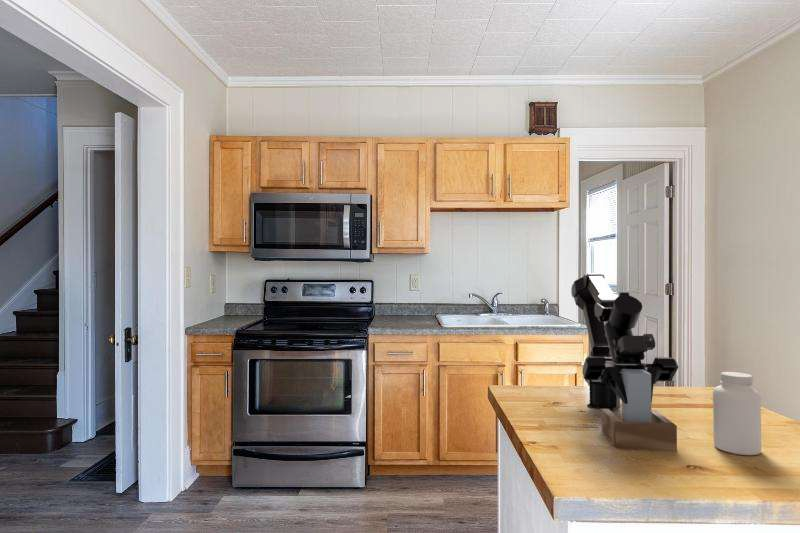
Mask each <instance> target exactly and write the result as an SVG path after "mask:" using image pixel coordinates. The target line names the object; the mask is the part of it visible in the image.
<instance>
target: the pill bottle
mask: <svg viewBox="0 0 800 533" xmlns="http://www.w3.org/2000/svg"><path fill="white" fill-rule="evenodd" d="M753 378H754V377H753V375H751V374H750V373H749V374H748V373H745V372H744V373H743V372H737V371H723V372H721V373H720V381H719V382H720V385H717V386H715V387H714V389H713V390H712V423H713V426H712V427H713V428H712V430H713V434H712V435H713V445H714V446H715V447H716V448H717V449H719V450H721V451H723V452H726V453H730V454H733V455H741V456H755V455H760V454H761V452H762V408H761V407H762V406H761V405H762V404H761V395H760V393H759V391H757V390H756V389H754V388H752V386H753V382H754V379H753Z"/></svg>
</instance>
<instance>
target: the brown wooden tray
mask: <svg viewBox="0 0 800 533" xmlns="http://www.w3.org/2000/svg"><path fill="white" fill-rule="evenodd" d="M677 427H678V426H677V424H675V423H674V422H672V421H671V420H670V419H668V418H667V417H666V416H665V415H664V414H662V413H660V412H659V411H658V410H656V409H651V423H646V422H622V420H620V419H619V417H618V416H617V415H615V413H613V412H612V411H610V410H609V409H601V432H602V434H603V435H604V436H605V437H606V438H607V439H608V441H609V442H610V443H611V444H612V445H613V446H614V447H615V449H616V450H641V451H642V450H643V451H644V450H645V451H669V452H671V451H672V452H676V451H678V432H677V431H678V428H677Z"/></svg>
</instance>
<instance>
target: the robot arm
mask: <svg viewBox="0 0 800 533" xmlns="http://www.w3.org/2000/svg"><path fill="white" fill-rule="evenodd" d="M570 288H571V296H572V298H573V299H574V302H575V305H576V306H577V307H578V308H579V309H581V310H582V312H583V316H584V320H585V325H586V326H585V327H586V330H587V334H588V338H589V343H590V348H591V351H590V353H589V356H586V358H585V360H584V362H583V366H582V376H583V379H584V381H585V382H586V383H587V384H588V385H589V388H588V389H589V402H588V403H587V404H586V406H587V407H588V408H589V407H590V408H595V409H598V410H599V409H600V410H602V409H609V410H610V411H611V412H612V411H614V410H616V409H618V408H619V407H620V406H621V402H622V401H623V402H624V404H627V402H628V401H627V396H626V392H625V389H624V386H623V383H622V371H621V369H644V370H645V371H647V372H649V373H650V374H651V404H653V395H654V393H653V392H654V385H656V384H657V382H671V381H672V380H673V379H674V377H675V375H676V373H677V371H678V369H679V365H678V362H677V360H676V359H675V358H674V357H664V356H663V357H658V356H657V357H656V356H655V357H654V360H653V362H652V363H645V362H642V361H644V359H645V357H646V356H645V353H646V352H648V351H652V350H654V349H655V348H656V339H655V337H654V335H653V333H643V335H634V334H633V330H632V329H635V327H636V325H637V322H638V321H639V317H640V314H641V312H642V310H643V303H642V302H641V301H640V299H637V298H636V297H634V296H632V295H630V292H627V291H625V292H623V291H620V292H618V293H615V292H614V291H613V290H612V289H611V287H610V286H609V284H608V282H607V281H606V279H605V275H604V274H603V273H601V272H600V273H599V272H596V273H593V272H591V273H584V274H583V276H582V277H580V278H578V279H576V280H575V281H573V283H572V285H571V287H570ZM605 322H606V323H605Z"/></svg>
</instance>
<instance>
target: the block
mask: <svg viewBox="0 0 800 533" xmlns="http://www.w3.org/2000/svg"><path fill="white" fill-rule="evenodd" d="M621 371H622V383H623V386H624V389H625V392H626V396H627V401H628V402H627V404H624V402H623V401H622V400H621V422H646V423H651V410H652V403H651V374H650V373H649V372H647V371H645V370H644V369H621Z"/></svg>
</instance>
